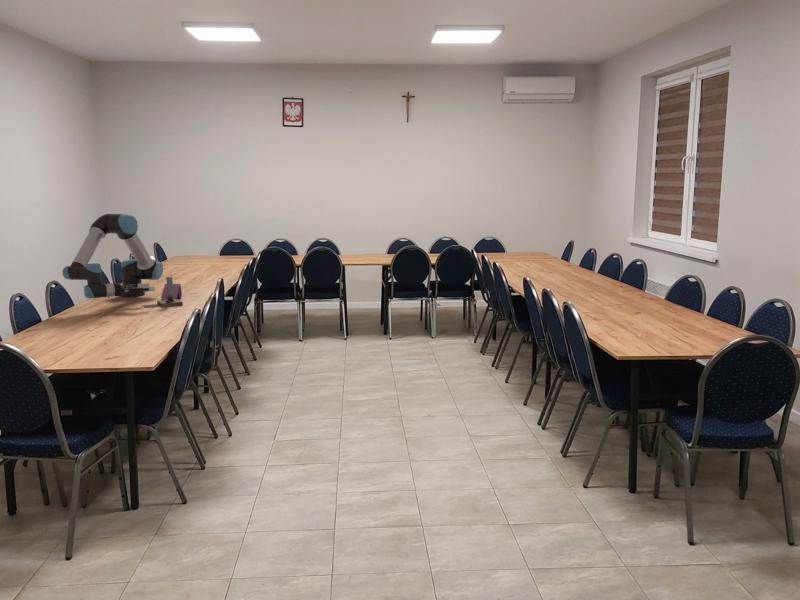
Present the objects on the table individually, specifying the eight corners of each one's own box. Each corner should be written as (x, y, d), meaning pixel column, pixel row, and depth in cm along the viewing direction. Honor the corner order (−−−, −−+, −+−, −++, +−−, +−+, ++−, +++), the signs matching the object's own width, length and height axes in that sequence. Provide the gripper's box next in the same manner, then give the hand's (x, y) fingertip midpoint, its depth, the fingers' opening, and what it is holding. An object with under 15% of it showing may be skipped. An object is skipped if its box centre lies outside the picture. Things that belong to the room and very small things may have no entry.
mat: (141, 306, 430) (141, 305, 430) (155, 304, 435) (155, 304, 435) (145, 308, 422) (145, 308, 422) (159, 307, 426) (159, 306, 426)
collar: (157, 304, 435) (157, 300, 435) (177, 303, 441) (177, 299, 441) (162, 307, 425) (161, 303, 425) (182, 306, 431) (182, 301, 431)
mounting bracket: (177, 311, 446) (182, 294, 461) (175, 300, 441) (180, 283, 456) (161, 311, 445) (167, 294, 460) (159, 300, 441) (165, 283, 455)
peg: (167, 305, 434) (165, 277, 431) (172, 304, 436) (171, 276, 433) (168, 306, 431) (167, 277, 428) (174, 305, 433) (173, 277, 430)
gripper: (109, 293, 426) (147, 290, 437) (118, 299, 405) (157, 296, 416) (109, 280, 425) (146, 278, 436) (117, 286, 404) (156, 283, 415)
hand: (151, 287), depth 426 cm, fingers open, 13 cm apart
